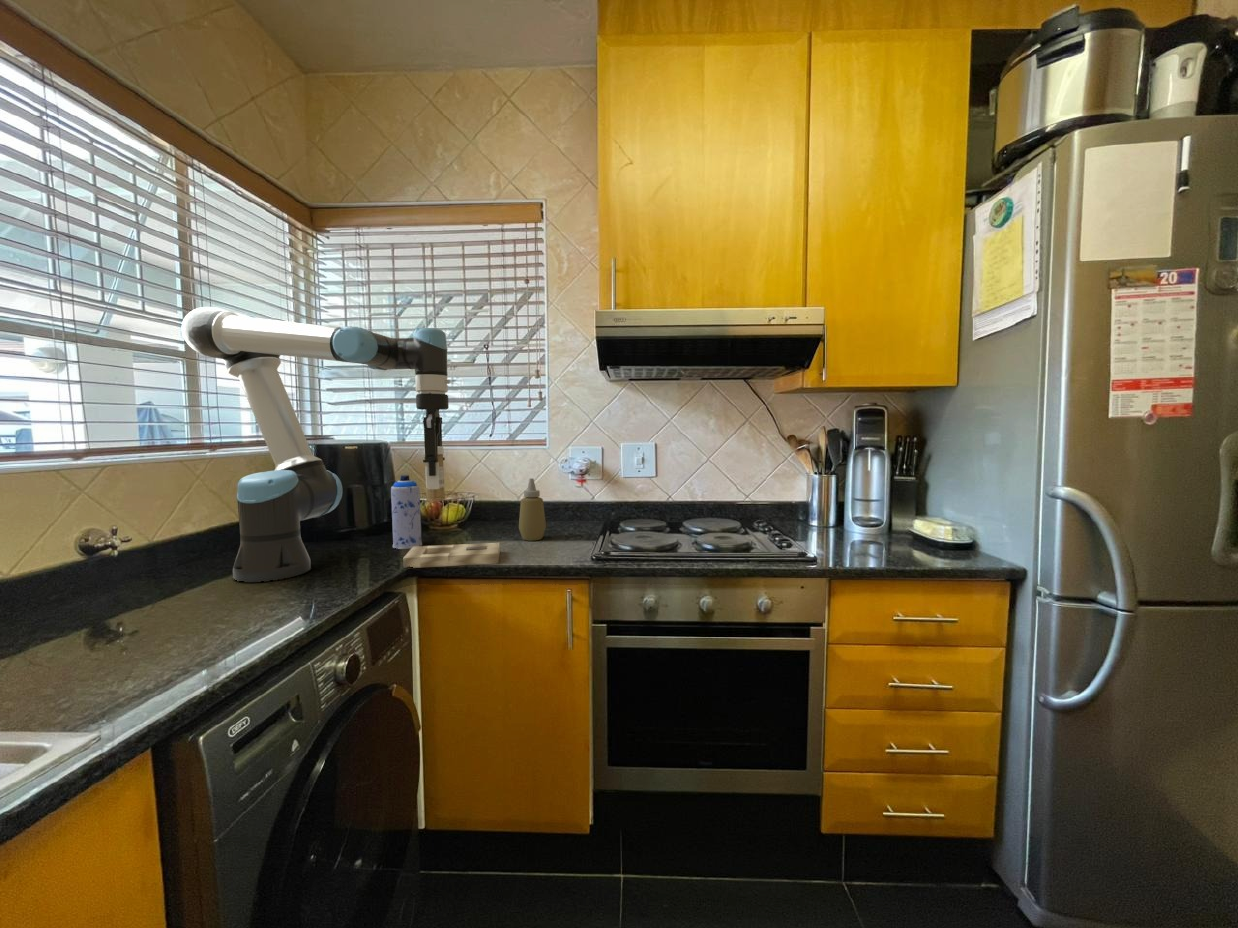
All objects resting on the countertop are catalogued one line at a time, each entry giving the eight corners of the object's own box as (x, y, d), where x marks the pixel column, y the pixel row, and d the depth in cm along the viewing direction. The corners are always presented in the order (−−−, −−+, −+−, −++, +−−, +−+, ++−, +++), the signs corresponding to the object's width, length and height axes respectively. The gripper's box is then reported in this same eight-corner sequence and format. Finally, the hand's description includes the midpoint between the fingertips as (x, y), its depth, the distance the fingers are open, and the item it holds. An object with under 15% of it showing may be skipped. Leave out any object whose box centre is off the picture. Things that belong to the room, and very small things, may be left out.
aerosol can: (419, 541, 156) (416, 473, 154) (425, 546, 149) (422, 475, 148) (390, 544, 152) (387, 475, 150) (395, 550, 145) (392, 477, 144)
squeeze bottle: (549, 536, 162) (548, 477, 160) (542, 542, 154) (541, 480, 152) (523, 535, 162) (521, 477, 161) (515, 541, 154) (513, 480, 153)
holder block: (403, 568, 127) (403, 556, 127) (413, 556, 139) (412, 545, 138) (498, 563, 131) (497, 552, 131) (499, 551, 143) (499, 541, 142)
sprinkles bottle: (439, 498, 136) (437, 446, 135) (448, 500, 133) (446, 446, 132) (422, 500, 133) (420, 446, 132) (431, 502, 130) (429, 447, 129)
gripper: (443, 391, 123) (446, 491, 125) (452, 395, 140) (454, 483, 142) (408, 391, 122) (412, 492, 123) (422, 395, 139) (425, 484, 140)
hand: (435, 487), depth 133 cm, fingers closed on sprinkles bottle, 4 cm apart
